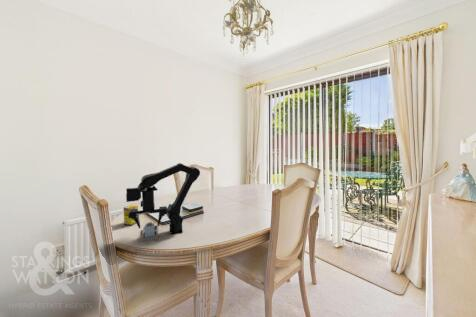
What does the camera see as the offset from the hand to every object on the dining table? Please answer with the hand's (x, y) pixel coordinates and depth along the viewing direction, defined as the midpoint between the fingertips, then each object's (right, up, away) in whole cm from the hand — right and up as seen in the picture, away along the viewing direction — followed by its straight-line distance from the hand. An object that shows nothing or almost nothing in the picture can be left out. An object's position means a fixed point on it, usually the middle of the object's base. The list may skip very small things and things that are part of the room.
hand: (149, 227), depth 113 cm
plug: (0, -6, +1) cm, 6 cm away
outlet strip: (-1, -5, +4) cm, 7 cm away
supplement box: (-19, -4, +18) cm, 26 cm away
